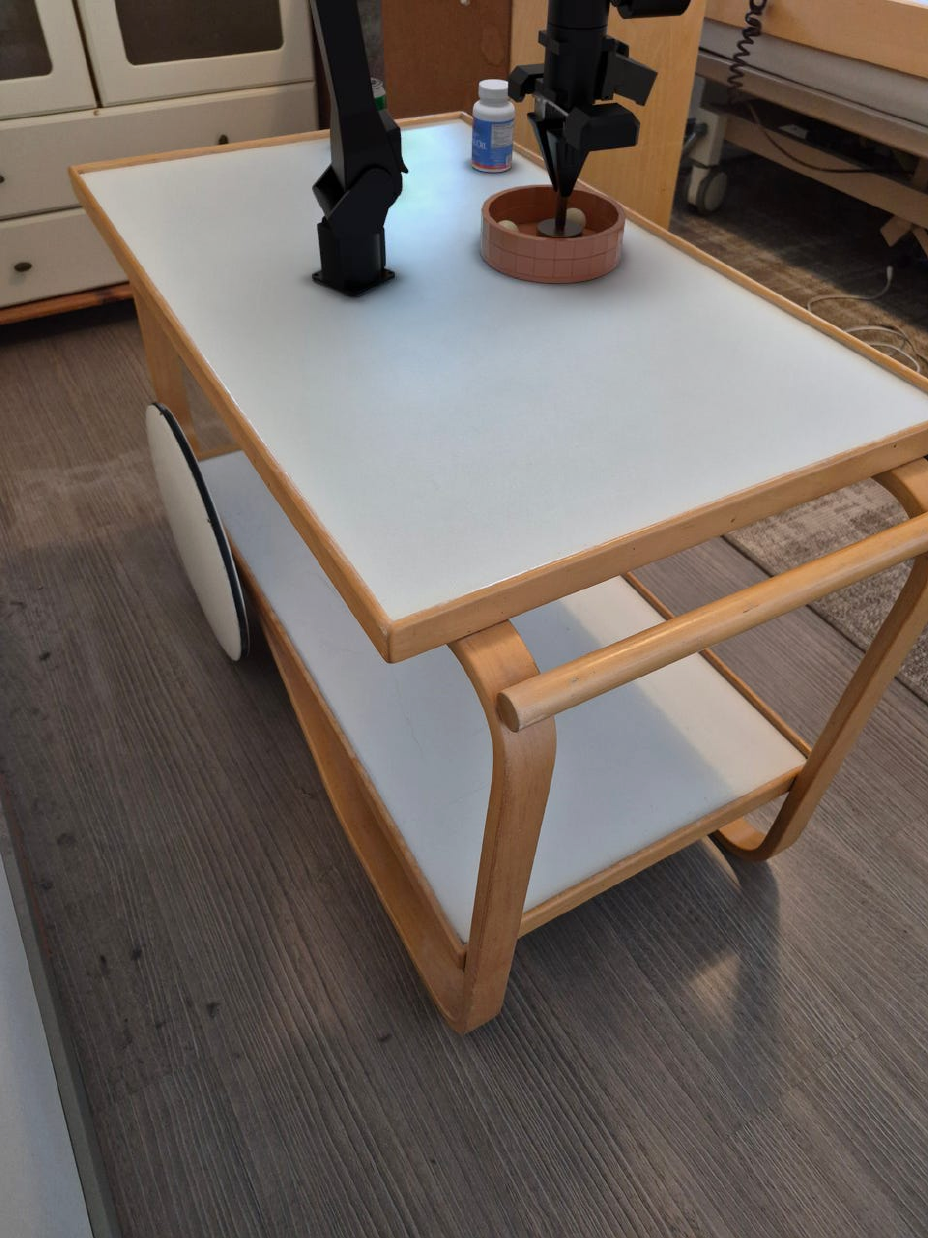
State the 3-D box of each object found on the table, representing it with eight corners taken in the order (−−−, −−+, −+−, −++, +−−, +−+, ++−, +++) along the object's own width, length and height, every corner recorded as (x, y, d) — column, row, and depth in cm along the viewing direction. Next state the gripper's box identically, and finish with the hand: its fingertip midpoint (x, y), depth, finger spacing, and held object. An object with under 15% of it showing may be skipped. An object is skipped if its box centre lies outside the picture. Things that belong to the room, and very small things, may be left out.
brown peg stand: (563, 259, 97) (572, 171, 91) (526, 246, 100) (532, 159, 93) (589, 244, 100) (599, 158, 94) (552, 232, 102) (560, 146, 96)
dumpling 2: (576, 245, 102) (574, 222, 100) (555, 238, 103) (552, 215, 101) (591, 229, 103) (590, 205, 100) (570, 222, 104) (567, 199, 102)
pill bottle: (464, 161, 121) (465, 79, 114) (500, 156, 122) (503, 75, 115) (482, 175, 117) (484, 91, 110) (519, 170, 119) (523, 87, 112)
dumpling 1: (512, 257, 99) (503, 235, 97) (492, 253, 101) (482, 231, 98) (528, 238, 100) (519, 215, 97) (507, 235, 101) (498, 212, 99)
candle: (329, 139, 126) (314, -36, 112) (379, 134, 128) (371, -39, 113) (343, 157, 121) (330, -23, 107) (396, 151, 123) (390, -27, 108)
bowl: (566, 297, 94) (571, 254, 90) (452, 254, 100) (452, 212, 97) (646, 249, 102) (653, 209, 99) (535, 212, 109) (538, 173, 106)
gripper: (703, 40, 81) (672, 217, 92) (609, -6, 93) (591, 156, 104) (591, 50, 78) (573, 232, 89) (509, 1, 90) (502, 166, 101)
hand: (562, 193), depth 96 cm, fingers closed on brown peg stand
